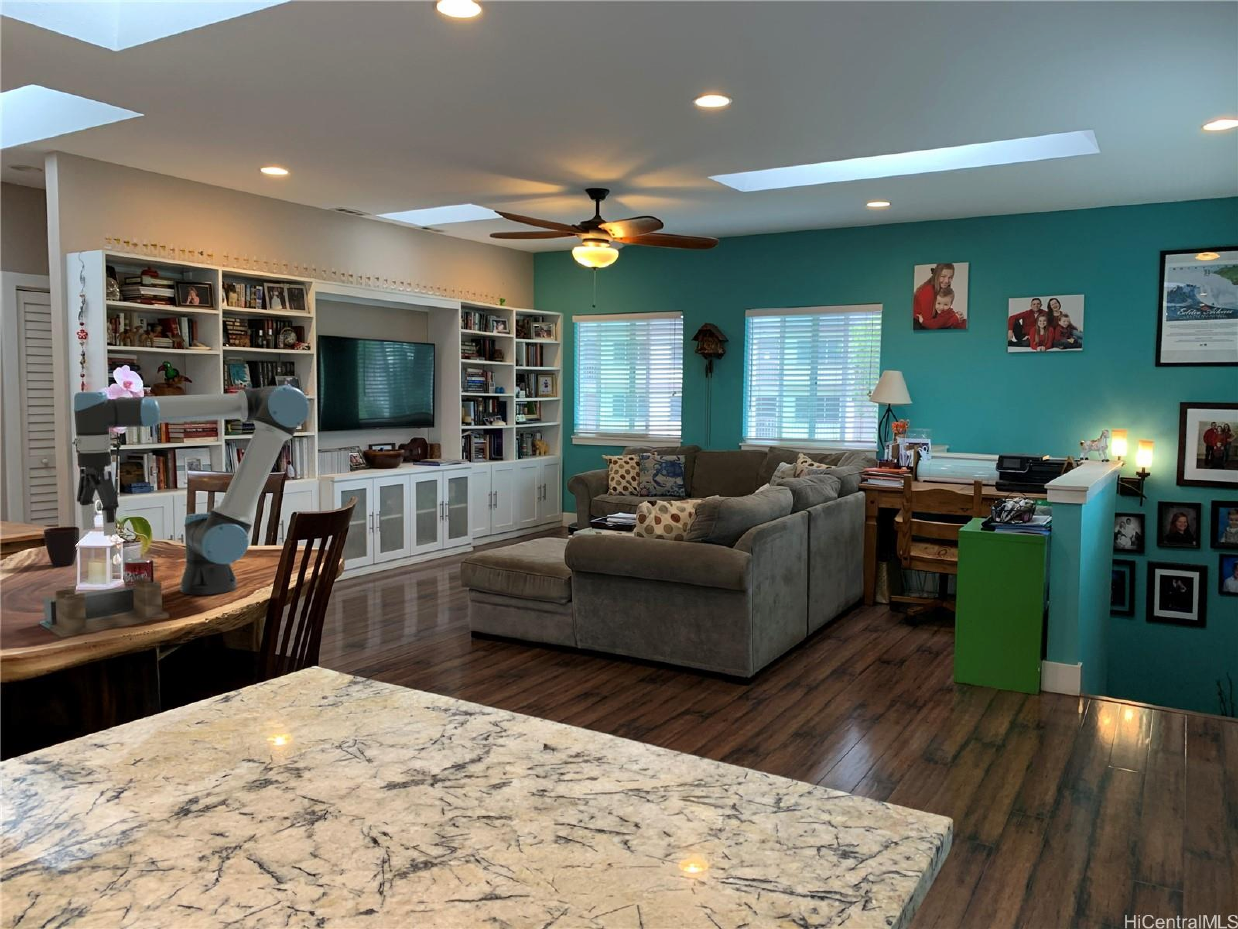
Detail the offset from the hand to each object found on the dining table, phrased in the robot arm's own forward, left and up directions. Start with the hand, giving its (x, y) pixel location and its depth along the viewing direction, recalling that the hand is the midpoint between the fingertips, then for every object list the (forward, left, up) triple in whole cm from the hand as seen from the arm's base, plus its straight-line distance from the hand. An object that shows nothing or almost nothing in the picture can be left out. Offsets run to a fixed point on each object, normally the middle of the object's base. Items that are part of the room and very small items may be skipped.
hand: (99, 532), depth 235 cm
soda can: (-12, -6, -22) cm, 26 cm away
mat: (+2, +2, -22) cm, 22 cm away
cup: (-16, -79, -22) cm, 84 cm away
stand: (+2, +12, -22) cm, 25 cm away
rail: (+2, +2, -22) cm, 22 cm away
